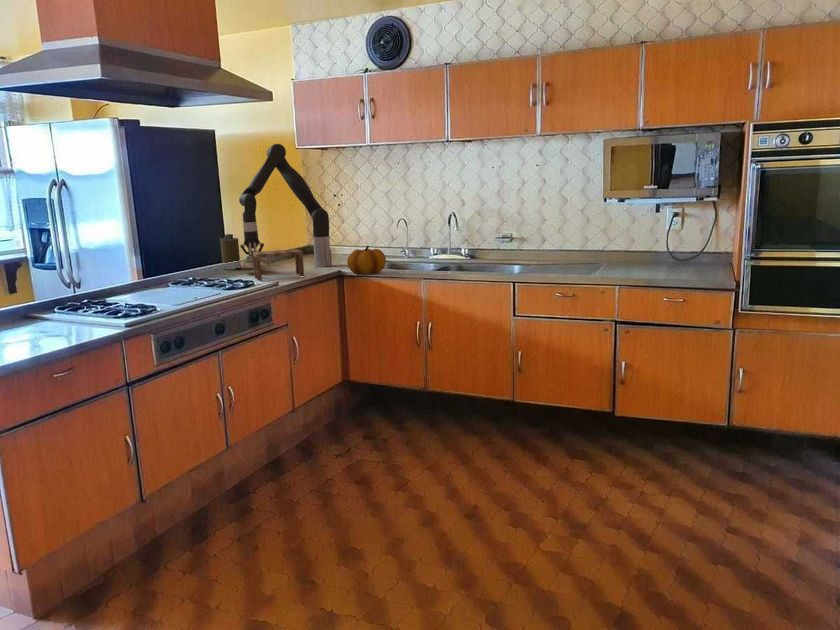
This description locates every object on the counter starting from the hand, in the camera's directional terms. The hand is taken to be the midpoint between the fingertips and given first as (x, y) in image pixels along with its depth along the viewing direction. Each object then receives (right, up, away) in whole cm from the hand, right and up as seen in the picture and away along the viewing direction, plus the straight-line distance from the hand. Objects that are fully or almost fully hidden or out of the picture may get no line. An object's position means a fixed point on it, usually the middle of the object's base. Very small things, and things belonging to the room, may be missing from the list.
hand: (253, 261), depth 367 cm
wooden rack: (+18, -10, -19) cm, 28 cm away
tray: (-1, -2, +3) cm, 3 cm away
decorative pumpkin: (+64, -8, -13) cm, 66 cm away
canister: (-18, -3, +19) cm, 26 cm away
